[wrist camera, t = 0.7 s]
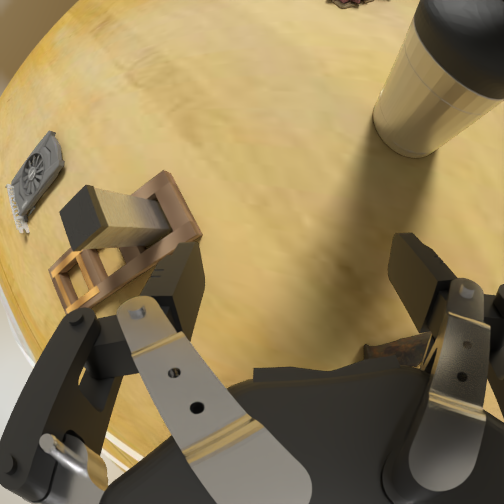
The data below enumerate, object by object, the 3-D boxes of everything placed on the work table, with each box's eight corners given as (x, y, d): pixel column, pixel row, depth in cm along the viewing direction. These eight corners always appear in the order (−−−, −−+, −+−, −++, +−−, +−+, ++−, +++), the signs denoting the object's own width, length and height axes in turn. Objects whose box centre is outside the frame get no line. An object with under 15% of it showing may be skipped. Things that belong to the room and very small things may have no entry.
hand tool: (362, 370, 31) (369, 388, 26) (360, 341, 31) (367, 357, 26) (486, 334, 27) (503, 345, 23) (487, 307, 27) (505, 315, 23)
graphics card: (15, 236, 38) (3, 185, 38) (30, 236, 41) (16, 187, 42) (62, 175, 35) (47, 124, 35) (78, 178, 38) (61, 129, 39)
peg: (161, 201, 35) (86, 184, 21) (175, 229, 34) (101, 226, 21) (137, 218, 35) (59, 211, 22) (150, 246, 35) (72, 251, 21)
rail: (170, 173, 34) (162, 169, 32) (202, 234, 34) (195, 234, 32) (56, 268, 39) (47, 269, 37) (77, 318, 39) (68, 321, 36)
